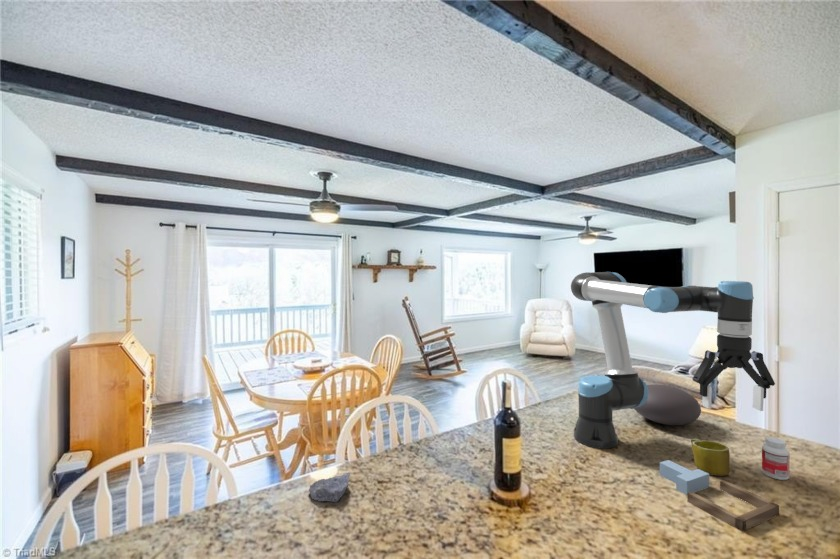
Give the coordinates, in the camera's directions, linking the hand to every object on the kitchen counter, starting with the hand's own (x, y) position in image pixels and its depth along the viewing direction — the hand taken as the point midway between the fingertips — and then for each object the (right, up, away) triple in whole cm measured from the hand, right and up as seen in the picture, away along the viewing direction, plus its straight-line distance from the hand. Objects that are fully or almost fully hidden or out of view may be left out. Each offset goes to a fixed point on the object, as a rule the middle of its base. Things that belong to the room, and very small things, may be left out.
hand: (732, 408), depth 105 cm
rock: (-117, -26, +1) cm, 119 cm away
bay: (-6, -24, -7) cm, 26 cm away
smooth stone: (+13, -23, +50) cm, 56 cm away
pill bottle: (+20, -24, +8) cm, 32 cm away
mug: (+3, -24, +13) cm, 28 cm away
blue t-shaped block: (-11, -24, +5) cm, 27 cm away
